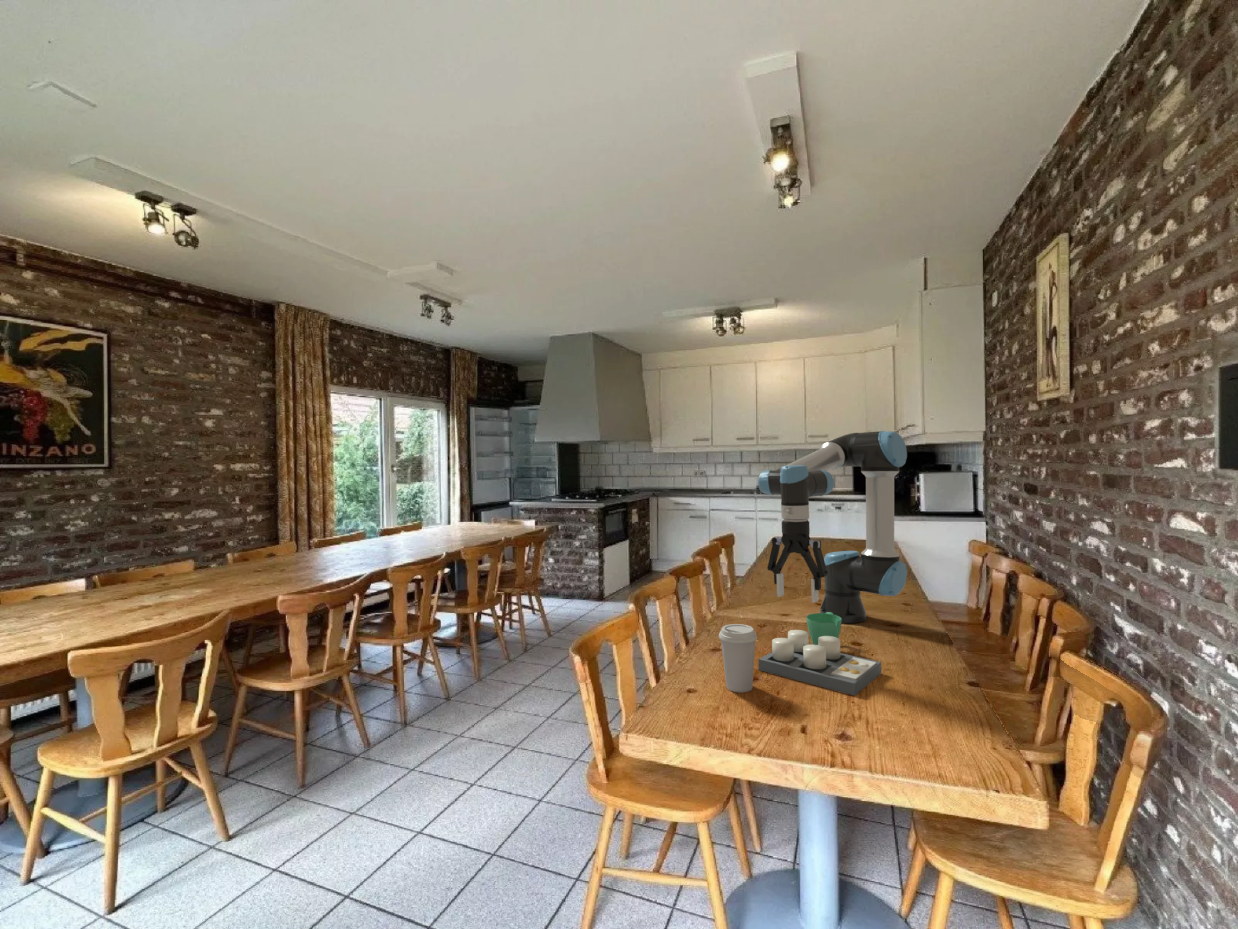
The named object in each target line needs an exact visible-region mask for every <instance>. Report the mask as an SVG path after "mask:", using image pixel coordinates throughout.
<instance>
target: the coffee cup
mask: <svg viewBox="0 0 1238 929" xmlns="http://www.w3.org/2000/svg"><path fill="white" fill-rule="evenodd" d="M718 639H720V642H721V651H722V652H721V653H722V661H723V669H724V677H725V678H724V679H725V686H726V688H727V690H729V691H731V692H734V693H742V694H743V693H748V692H751V691H752V690H753V684H754V669H755V668H754V667H755V662H754V661H755V651H756V650H755V647H756V640H757V639H758V636H757V633H756V631H755V630H754V627H753V626H751V625H747V624H742V623H741V624H740V623H732V624H726V625H723V626H722V627H721V630H720V632H719V634H718Z"/></svg>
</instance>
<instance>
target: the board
mask: <svg viewBox="0 0 1238 929" xmlns="http://www.w3.org/2000/svg"><path fill="white" fill-rule="evenodd" d="M840 656H841V657H840V658H839V659H826V668H824V669H810V668H807V667H805V666H804V660H803V652H795V651H794V659H793V660H791V661H778V660H775V659H774V658H773V654H772V651H771V652H769V653H767V654H765V655H763V656H762V657H760V658H758V671H761V672H764V673H768V674H772V675H776V676H779V677H783V678H786V679H791V680H795V681H798V682H801V683H806V684H810V685H813V686H817V687H821V688H823V689H824V688H825V689H827V690H830V691H835V692H838V693H842V694H846V695H850V696H854V697H855V696H856V695H857V694H859V693H860V692H861V691H863V689H865V688H866V687H867V686H868V685H869V684H870V683H872V682H873V681H875V679H876V678H878V677H879V676H881V674H882V661H878V660H872V659H869V658H864V657H859V656H857V655H850V654H847V653H841V652H840Z"/></svg>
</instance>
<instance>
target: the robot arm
mask: <svg viewBox="0 0 1238 929" xmlns="http://www.w3.org/2000/svg"><path fill="white" fill-rule="evenodd" d="M907 458H908V452H907V446H906V443H905V441H904V439H903V437H902V436H901V435H900V433H898V432H896V431H889V430H888V431H886V430H883V431H865V432H851V433H848V434H844V435H841V436H839V437H835V438H834V439H831V440H828V441H827V442H825V443H823V444H822V445H821V446H820V448H819V449H817V450H816V451H814V452H811V453H810V454H807V455H805V456H802V457H801V458H799V459H796V460H794V461H793V462H790V463H788V464H787V465H783V466H781V467H780V468H778V469H775V470H772V469H769V470H763V471H761V473H760V474H759V476H758V478H757V479H758V480H757V484H758V488H759V490H760V492H761V493H763V494H765V495H771V496H775V495H776V496H780V500H781V502H780V503H781V504H780V505H781V506H780V508H781V509H780V510H781V512H780V513H781V519H782V521H781V534H782V535H781V536H780V537H779V536H775V537H772V539H771V543H772V544H771V550H770V553H769V559H768V564H767V571H771V572H772V573H773V583H774V585H776V597H777V598H778V597H779V598H781V597H783V596H785V587H784V579H785V576H784V572H782V571H783V568H784V565H785V564H786V562H787V560H788V558H789V556H790V554H792V553H795V554H799V555H801V557H802V558H803V559H804V562H805V563H806V565H807V568H808V569H809V571H810V573H811V575H812V576H813V577H812V578H811V577H810V578H811V579H810V587H811V595H810V596H811V603H816V602H819V600H820V598H819V597H820V596H819V591H820V590H821V589H822V578H823V579H824V596H823V599H822V603H821V605H820V608H819V613H827V612H831V613H833V614H834V615H837V616H839V617H840V618H841V621H842V622H841V624H842V623H843V624H856V623H861V622H864V621H866V620H867V612H866V611H867V610H866V609H865V605H864V603H863V600H862V597H861V592H863V593H870V594H875V595H880V596H884V597H885V596H886V597H887V596H888V597H896V596H898V595H899V594H900V593H901V592H902V590H903V589H904V587H905V586H906V582H907V577H908V568H907V565H906V563H905V562H904V561H902V560H900V554H899V552H897V550H895V477H896V476H897V475H898V474H899V473H900V467H903V466H904V465H905V464H906V462H907ZM842 467H860V472H861V473H862V475H864V477H865V549H864V550H862V551H861V552H859V551H858V550H841V551H833V552H828V553H826V554H825V556H823V555H824V554H823V551H822V542H821V540H819V539H818V540H812V539H811V537H810V529H811V528H810V521H809V519H810V508H809V507H810V504H809V503H810V502H809V501H810V500H809V499H810V498H811V497H823V496H827V495H828V494H830V493H831V492H832V491H833V489H834V486H835V479H834V477H833V475H832V473H831V472H829V470H838V469H840V468H842ZM781 544H782V545H783V546H784V547H783V548H782V551H781V554H780V556H779V552H780V548H781ZM809 547H810V548H811V549H812V552H813V556H814V558H813V556H812V554H811V550H810V548H809ZM778 556H779V558H778Z"/></svg>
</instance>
